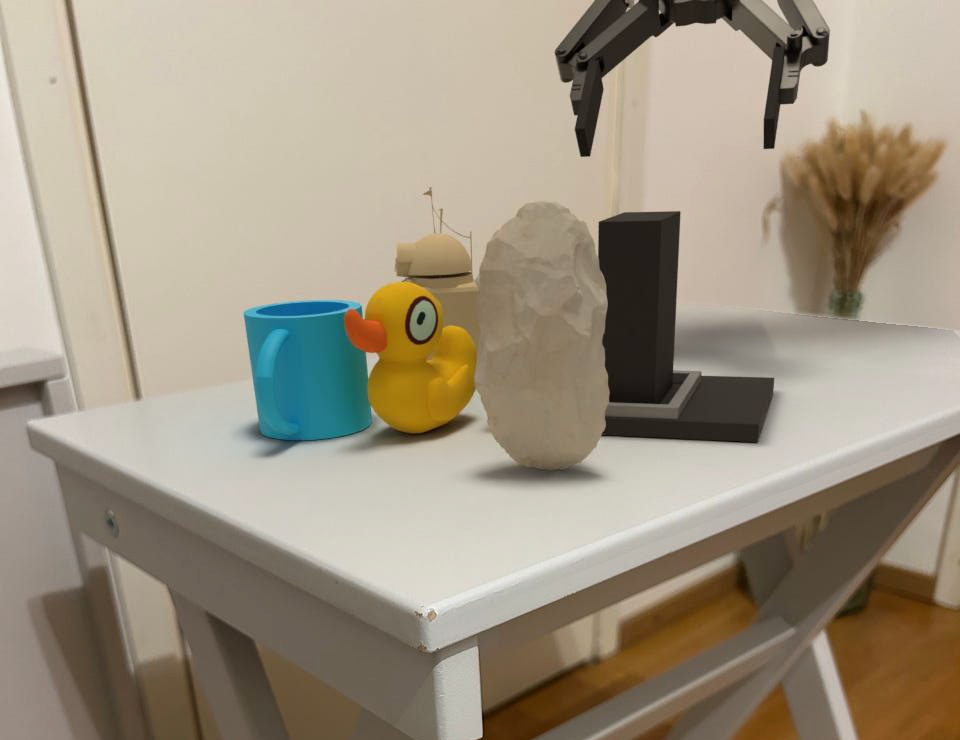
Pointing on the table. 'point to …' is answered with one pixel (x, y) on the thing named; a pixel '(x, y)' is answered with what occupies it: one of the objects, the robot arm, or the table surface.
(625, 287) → the pad block
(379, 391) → the duckling
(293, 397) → the mug
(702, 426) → the base pad
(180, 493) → the table surface
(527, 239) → the stone
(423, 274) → the robot
